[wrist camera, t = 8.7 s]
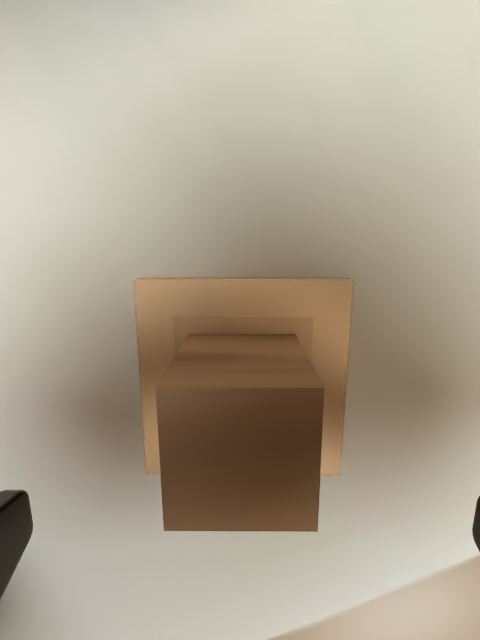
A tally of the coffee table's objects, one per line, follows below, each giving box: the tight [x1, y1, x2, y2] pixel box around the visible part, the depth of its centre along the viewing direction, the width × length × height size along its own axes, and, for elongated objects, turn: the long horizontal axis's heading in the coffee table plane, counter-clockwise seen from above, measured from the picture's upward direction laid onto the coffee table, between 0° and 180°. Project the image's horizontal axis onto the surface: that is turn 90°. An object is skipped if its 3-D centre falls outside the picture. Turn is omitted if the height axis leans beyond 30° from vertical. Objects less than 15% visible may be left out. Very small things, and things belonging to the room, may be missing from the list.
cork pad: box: [134, 278, 353, 475], centre depth 14 cm, size 8×8×1 cm
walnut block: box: [155, 334, 325, 531], centre depth 11 cm, size 4×4×5 cm
